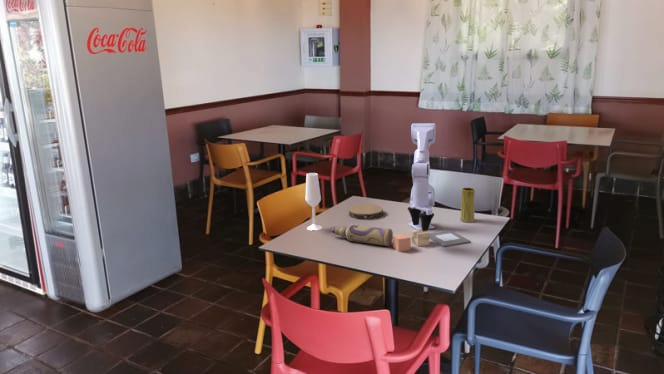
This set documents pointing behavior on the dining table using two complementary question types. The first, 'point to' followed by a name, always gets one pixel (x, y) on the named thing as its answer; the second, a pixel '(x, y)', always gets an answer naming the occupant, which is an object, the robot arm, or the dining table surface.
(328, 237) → the dining table surface
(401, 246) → the terracotta block
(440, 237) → the baseplate
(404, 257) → the dining table surface
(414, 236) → the beech block
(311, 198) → the champagne flute
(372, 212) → the wood slice
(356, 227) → the decorative bottle
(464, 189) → the vase
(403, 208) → the dining table surface
